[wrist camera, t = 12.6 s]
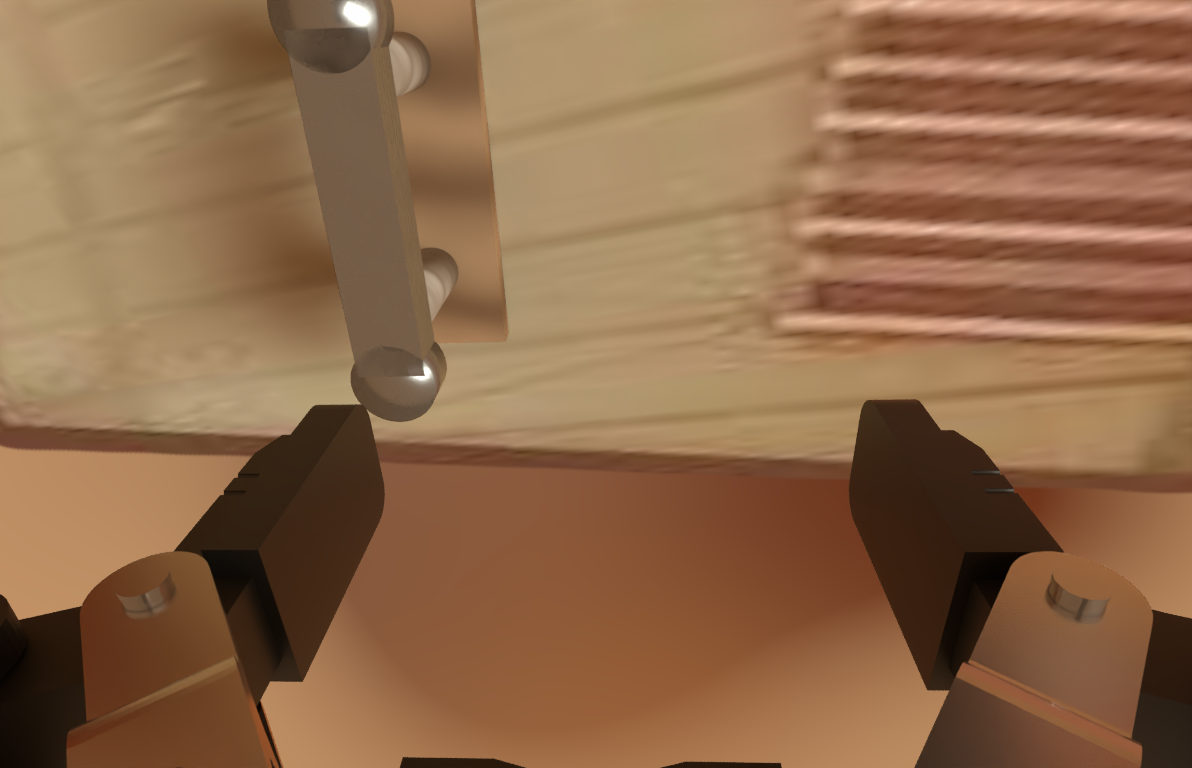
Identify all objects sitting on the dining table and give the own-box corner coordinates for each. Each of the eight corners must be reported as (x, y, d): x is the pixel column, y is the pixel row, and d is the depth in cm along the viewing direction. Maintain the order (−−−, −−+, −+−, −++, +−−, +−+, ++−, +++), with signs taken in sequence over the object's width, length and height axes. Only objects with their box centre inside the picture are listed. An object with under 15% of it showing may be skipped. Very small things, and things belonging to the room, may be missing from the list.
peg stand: (323, -40, 38) (237, -51, 30) (470, -46, 38) (425, -60, 30) (392, 334, 49) (343, 403, 40) (508, 332, 48) (483, 401, 40)
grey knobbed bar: (282, -43, 30) (254, -47, 28) (385, -48, 30) (365, -52, 28) (374, 398, 40) (359, 422, 38) (451, 398, 40) (441, 421, 38)
